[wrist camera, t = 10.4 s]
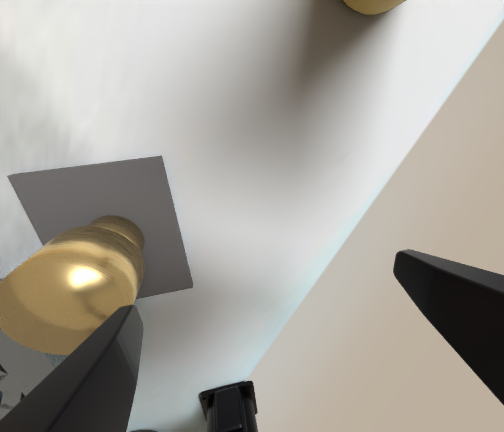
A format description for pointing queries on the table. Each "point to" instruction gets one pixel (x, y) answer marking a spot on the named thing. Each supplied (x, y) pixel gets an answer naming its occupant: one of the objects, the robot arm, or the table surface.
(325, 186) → the table surface
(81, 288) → the end cover
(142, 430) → the supplement bottle
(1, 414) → the housing
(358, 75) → the table surface
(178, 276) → the rubber mat
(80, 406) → the robot arm
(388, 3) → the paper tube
